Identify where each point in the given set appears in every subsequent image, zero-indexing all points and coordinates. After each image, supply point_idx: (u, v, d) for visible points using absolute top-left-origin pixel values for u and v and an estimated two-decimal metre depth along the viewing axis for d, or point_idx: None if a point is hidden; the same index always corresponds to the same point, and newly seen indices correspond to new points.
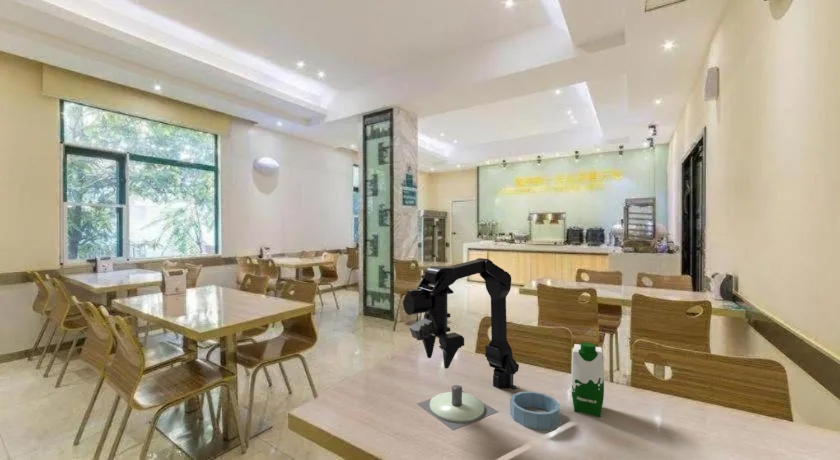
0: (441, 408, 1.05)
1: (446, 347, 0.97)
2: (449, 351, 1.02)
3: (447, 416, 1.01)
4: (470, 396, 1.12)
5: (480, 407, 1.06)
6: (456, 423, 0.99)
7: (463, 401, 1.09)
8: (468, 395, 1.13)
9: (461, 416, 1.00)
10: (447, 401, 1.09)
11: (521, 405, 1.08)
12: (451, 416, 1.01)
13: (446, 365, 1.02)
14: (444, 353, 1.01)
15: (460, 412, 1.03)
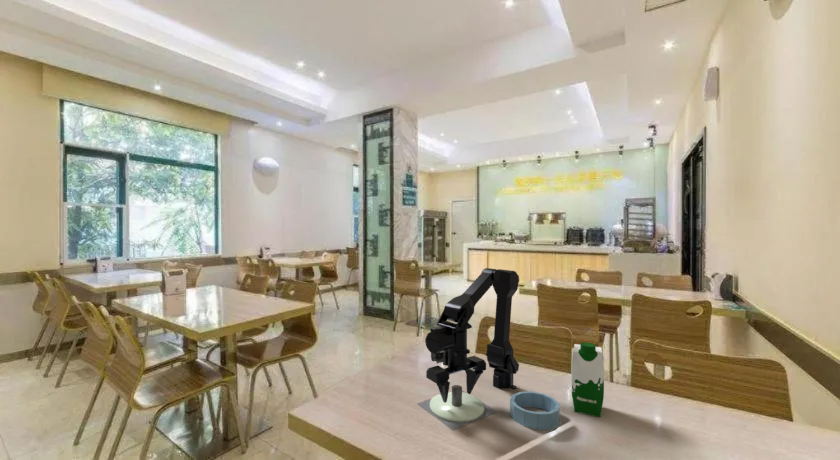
0: (441, 408, 1.05)
1: None
2: (442, 385, 1.04)
3: (447, 416, 1.01)
4: (470, 396, 1.12)
5: (480, 407, 1.06)
6: (456, 423, 0.99)
7: (463, 401, 1.09)
8: (468, 395, 1.13)
9: (461, 416, 1.00)
10: (447, 401, 1.09)
11: (521, 405, 1.08)
12: (451, 416, 1.01)
13: (442, 398, 1.05)
14: None
15: (460, 412, 1.03)
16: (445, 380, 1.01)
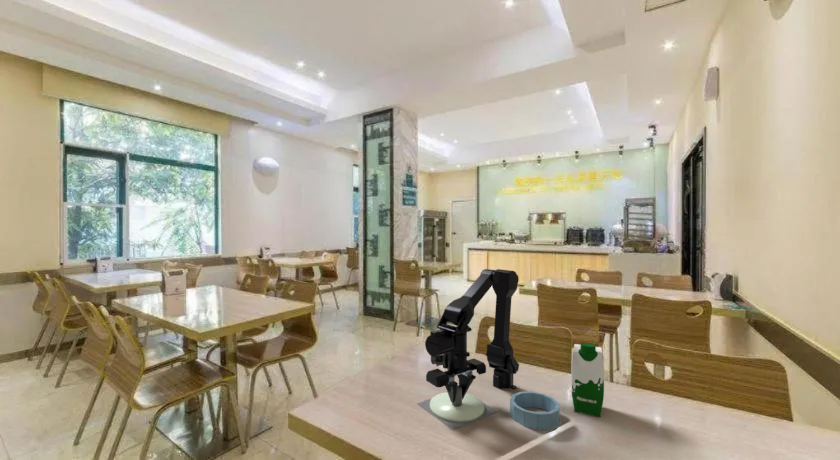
0: (441, 408, 1.05)
1: None
2: None
3: (447, 416, 1.01)
4: (470, 396, 1.12)
5: (480, 407, 1.06)
6: (456, 423, 0.99)
7: (463, 401, 1.09)
8: (468, 395, 1.13)
9: (461, 416, 1.00)
10: (447, 401, 1.09)
11: (521, 405, 1.08)
12: (451, 416, 1.01)
13: (450, 398, 1.06)
14: None
15: (460, 412, 1.03)
16: (445, 383, 1.01)
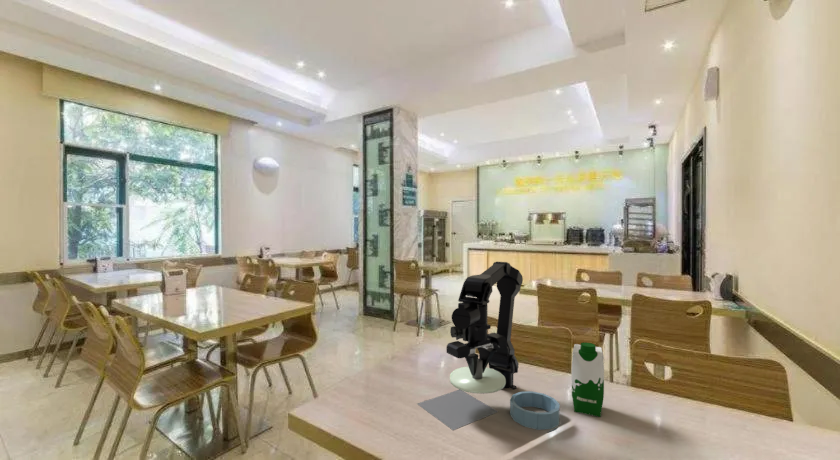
0: (462, 380, 1.04)
1: None
2: (470, 358, 1.04)
3: (468, 388, 0.99)
4: (490, 370, 1.11)
5: (501, 380, 1.04)
6: (456, 423, 0.99)
7: (484, 374, 1.08)
8: (488, 369, 1.11)
9: (483, 388, 0.99)
10: (467, 375, 1.08)
11: (521, 405, 1.08)
12: (472, 388, 0.99)
13: (470, 371, 1.05)
14: None
15: (481, 384, 1.01)
16: (466, 354, 1.00)
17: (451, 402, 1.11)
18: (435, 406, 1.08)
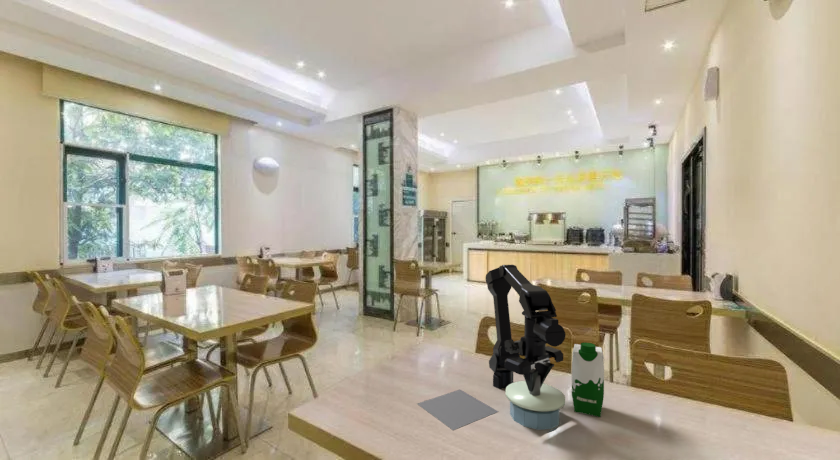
0: (520, 397, 1.00)
1: None
2: (528, 374, 1.01)
3: (530, 405, 0.96)
4: (545, 385, 1.07)
5: (560, 396, 1.01)
6: (456, 423, 0.99)
7: (540, 390, 1.04)
8: (542, 384, 1.08)
9: (545, 405, 0.96)
10: (523, 390, 1.04)
11: None
12: (534, 405, 0.96)
13: (528, 387, 1.02)
14: None
15: (541, 401, 0.98)
16: (527, 371, 0.96)
17: (451, 402, 1.11)
18: (435, 406, 1.08)
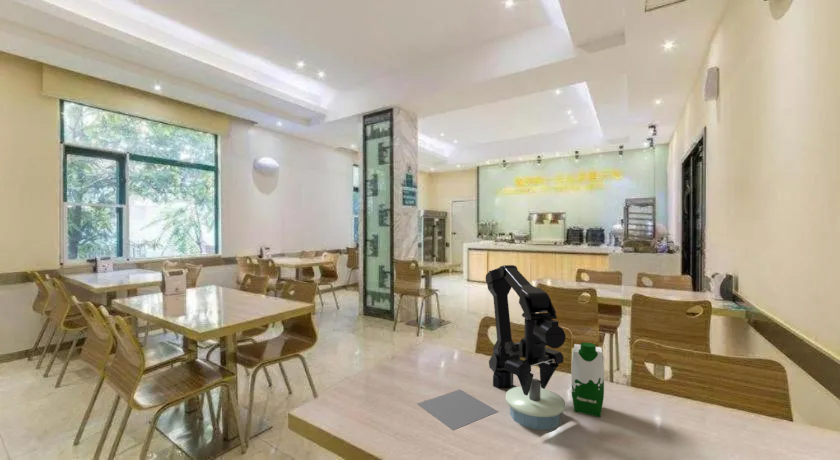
0: (520, 402, 1.00)
1: None
2: (523, 377, 1.00)
3: (530, 411, 0.96)
4: (545, 390, 1.07)
5: (561, 401, 1.01)
6: (456, 423, 0.99)
7: (540, 395, 1.04)
8: (542, 389, 1.08)
9: (545, 411, 0.96)
10: (523, 396, 1.04)
11: None
12: (534, 411, 0.96)
13: (523, 391, 1.00)
14: None
15: (542, 406, 0.98)
16: (527, 372, 0.96)
17: (451, 402, 1.11)
18: (435, 406, 1.08)
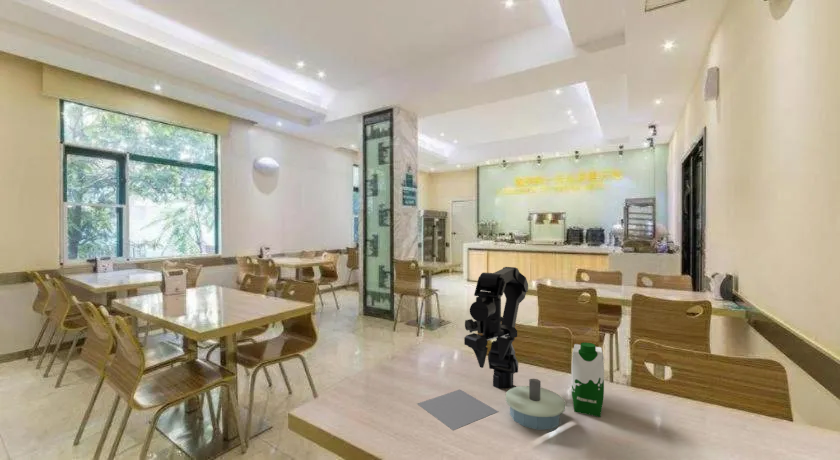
0: (520, 402, 1.00)
1: None
2: (479, 351, 1.09)
3: (530, 411, 0.96)
4: (545, 390, 1.07)
5: (561, 401, 1.01)
6: (456, 423, 0.99)
7: (540, 395, 1.04)
8: (542, 389, 1.08)
9: (545, 411, 0.96)
10: (523, 396, 1.04)
11: None
12: (534, 411, 0.96)
13: (479, 364, 1.10)
14: None
15: (542, 406, 0.98)
16: (484, 345, 1.06)
17: (451, 402, 1.11)
18: (435, 406, 1.08)
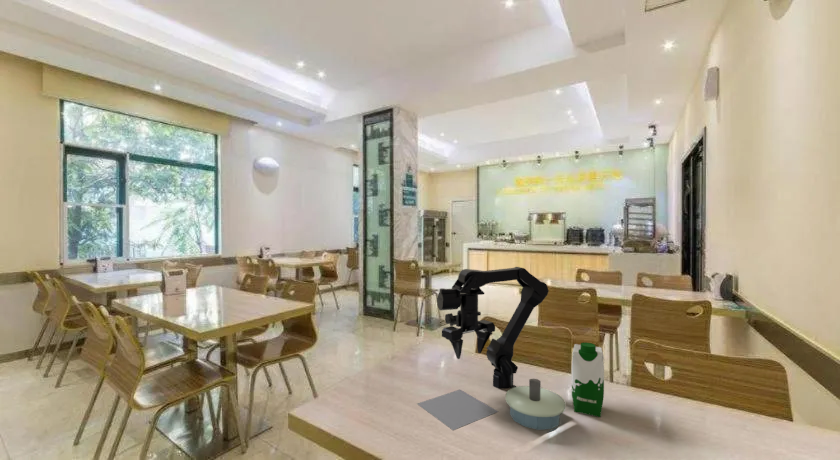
0: (520, 402, 1.00)
1: None
2: (455, 343, 1.16)
3: (530, 411, 0.96)
4: (545, 390, 1.07)
5: (561, 401, 1.01)
6: (456, 423, 0.99)
7: (540, 395, 1.04)
8: (542, 389, 1.08)
9: (545, 411, 0.96)
10: (523, 396, 1.04)
11: None
12: (534, 411, 0.96)
13: (456, 355, 1.17)
14: None
15: (542, 406, 0.98)
16: (459, 337, 1.13)
17: (451, 402, 1.11)
18: (435, 406, 1.08)
